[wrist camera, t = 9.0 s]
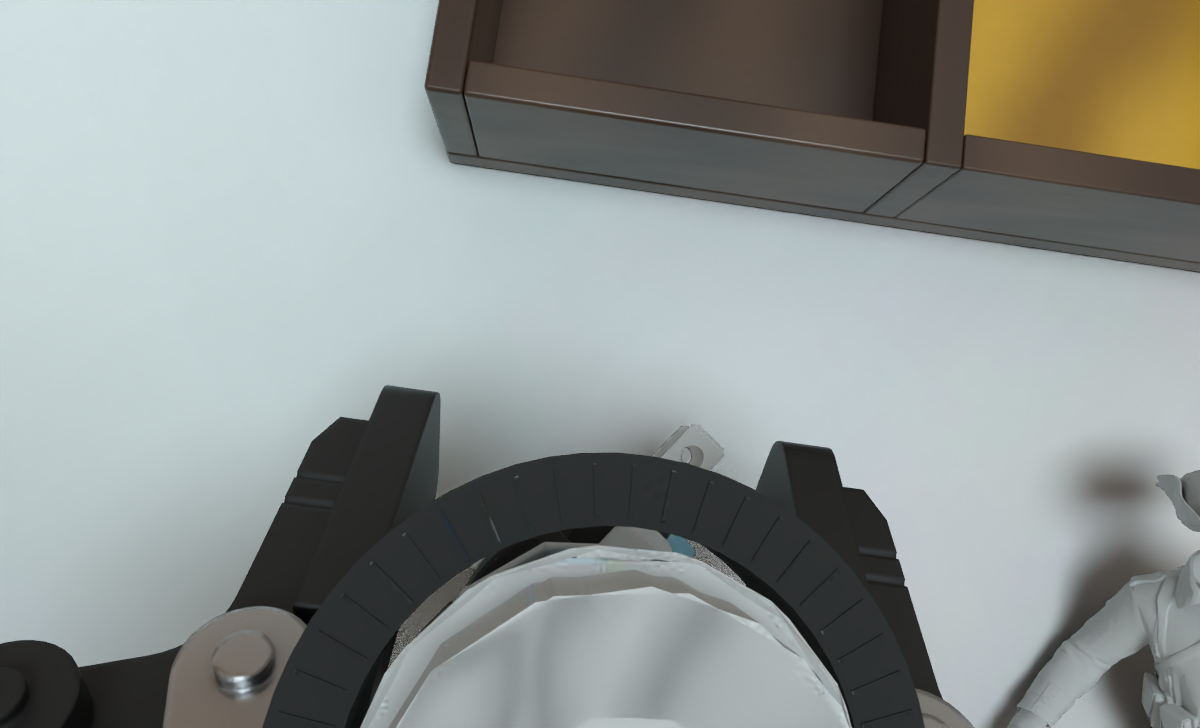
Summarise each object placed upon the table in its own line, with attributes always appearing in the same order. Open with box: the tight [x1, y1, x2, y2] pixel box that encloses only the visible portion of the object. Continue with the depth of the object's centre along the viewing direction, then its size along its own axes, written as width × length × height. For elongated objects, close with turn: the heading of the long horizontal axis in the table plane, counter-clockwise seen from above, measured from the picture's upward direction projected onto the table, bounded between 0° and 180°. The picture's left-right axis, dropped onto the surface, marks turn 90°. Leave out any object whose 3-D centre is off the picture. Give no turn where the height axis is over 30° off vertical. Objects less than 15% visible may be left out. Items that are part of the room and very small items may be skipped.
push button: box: [262, 425, 925, 728], centre depth 10 cm, size 7×5×10 cm
